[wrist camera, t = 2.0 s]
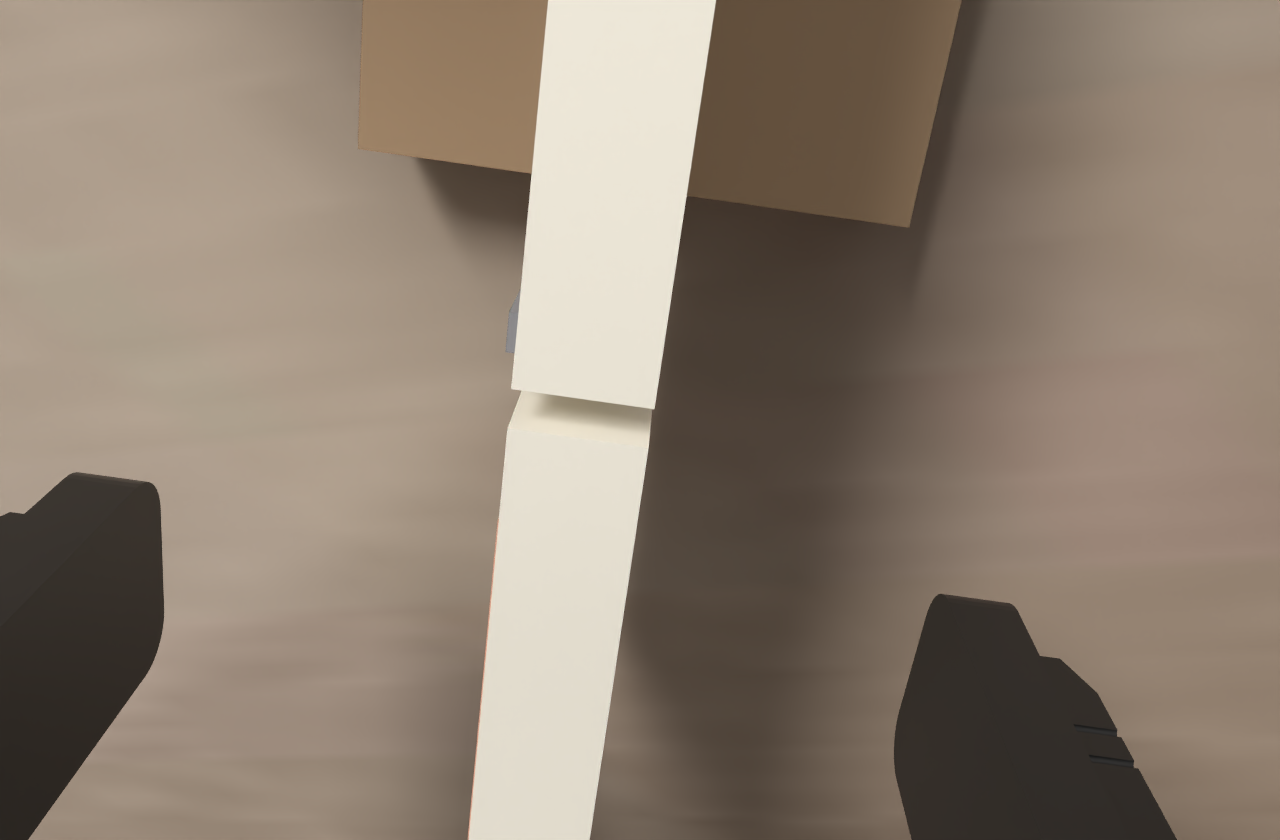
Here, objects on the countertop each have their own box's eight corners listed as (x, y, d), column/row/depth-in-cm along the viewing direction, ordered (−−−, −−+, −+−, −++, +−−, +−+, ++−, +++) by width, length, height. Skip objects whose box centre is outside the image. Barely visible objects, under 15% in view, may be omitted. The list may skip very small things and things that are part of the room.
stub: (583, 204, 14) (493, 425, 8) (669, 217, 14) (648, 448, 8) (538, 603, 17) (440, 1021, 10) (612, 614, 17) (560, 1038, 10)
